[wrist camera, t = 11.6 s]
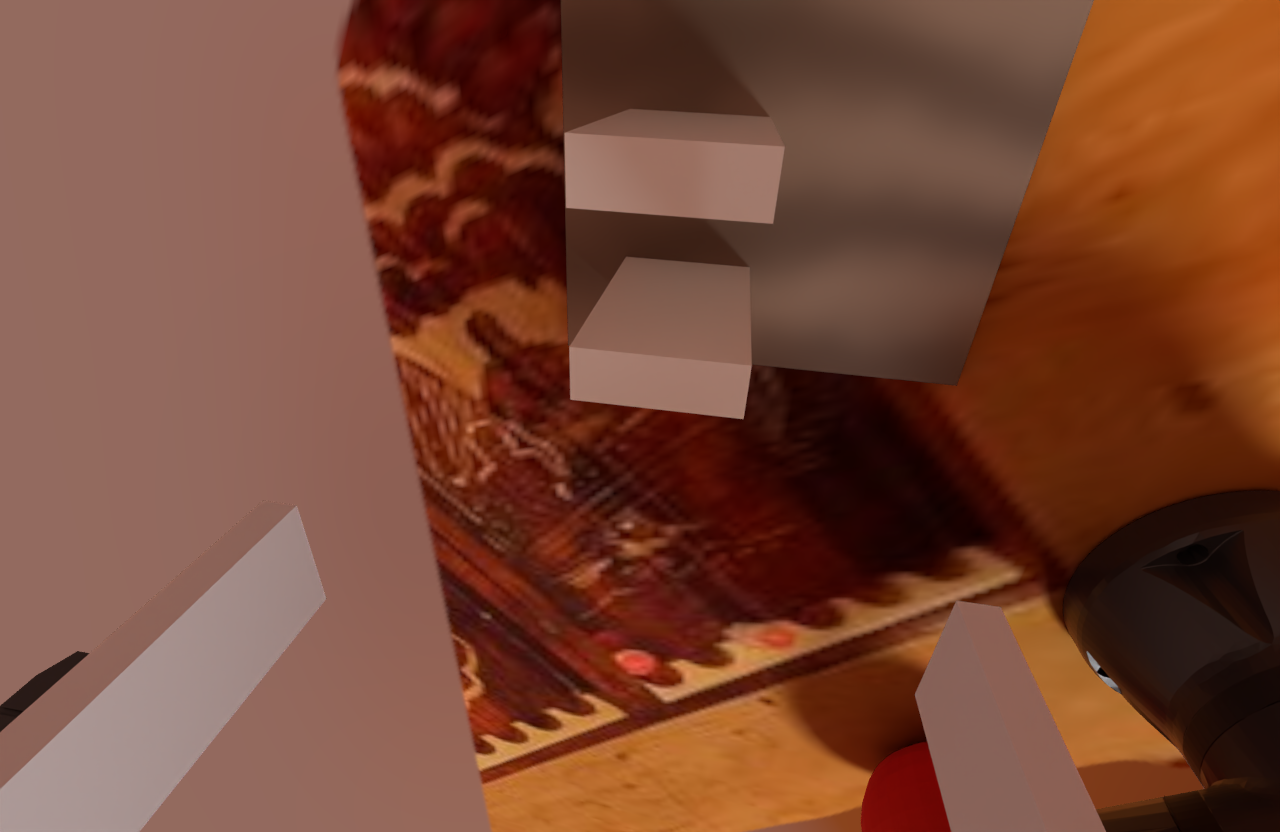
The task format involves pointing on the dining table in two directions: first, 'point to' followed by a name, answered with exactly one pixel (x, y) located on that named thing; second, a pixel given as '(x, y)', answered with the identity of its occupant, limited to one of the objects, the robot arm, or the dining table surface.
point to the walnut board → (835, 160)
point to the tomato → (904, 794)
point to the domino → (676, 165)
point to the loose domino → (668, 339)
